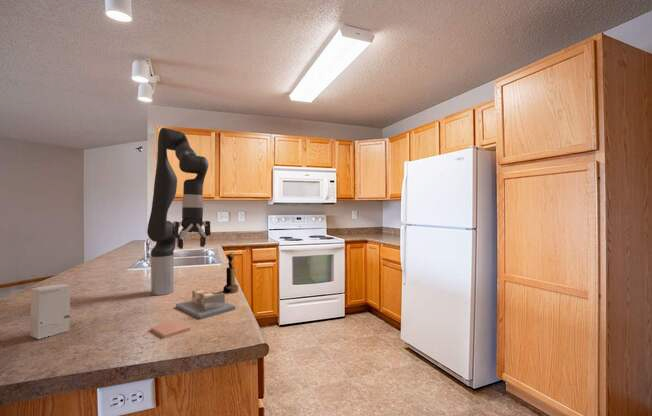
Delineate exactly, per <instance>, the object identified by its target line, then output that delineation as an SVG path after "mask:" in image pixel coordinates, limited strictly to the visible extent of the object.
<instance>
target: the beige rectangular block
mask: <svg viewBox="0 0 652 416" xmlns="http://www.w3.org/2000/svg"><path fill="white" fill-rule="evenodd" d="M191 294H192V295H191V296H192V297H191V298H192V300H191V301H192V302H194V303H197V304H199V305H201V306H204V311H209V310H212V309H216V308H220V307H223V306H225V303H226V299H225V295H226V293H224V292H221V293H217V294H214V293H211V292H209V291H205V290H203V289H200V288H199V289H195V290H192V293H191Z"/></svg>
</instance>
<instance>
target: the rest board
mask: <svg viewBox="0 0 652 416" xmlns="http://www.w3.org/2000/svg"><path fill="white" fill-rule="evenodd" d="M175 307H176V309H179V310H181V311H183V312H184V313H187V314H189V315H191V316H193V317H195V318H198V319H200V320H204V319H206V318H209V317H214V316H217V315H220V314H224V313H228V312H231V311H234V310H236V305H234V304H231V303H228V302H225V306H223V307H220V308H216V309H212V310H209V311H204V306H201V305H199V304H197V303H194V302H192V300H189V301H183V302H180V303H175Z"/></svg>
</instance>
